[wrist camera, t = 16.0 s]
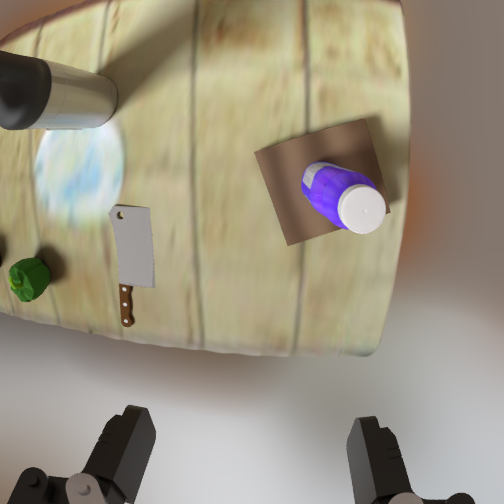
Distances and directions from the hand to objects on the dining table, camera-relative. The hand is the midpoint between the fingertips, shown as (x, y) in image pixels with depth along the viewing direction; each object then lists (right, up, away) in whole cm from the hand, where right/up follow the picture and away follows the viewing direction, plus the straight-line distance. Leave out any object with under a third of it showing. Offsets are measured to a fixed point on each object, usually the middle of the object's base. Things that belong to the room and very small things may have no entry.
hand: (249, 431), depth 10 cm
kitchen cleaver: (-21, +3, +41) cm, 46 cm away
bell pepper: (-44, +3, +43) cm, 62 cm away
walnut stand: (+10, +18, +34) cm, 39 cm away
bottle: (+10, +16, +30) cm, 36 cm away
